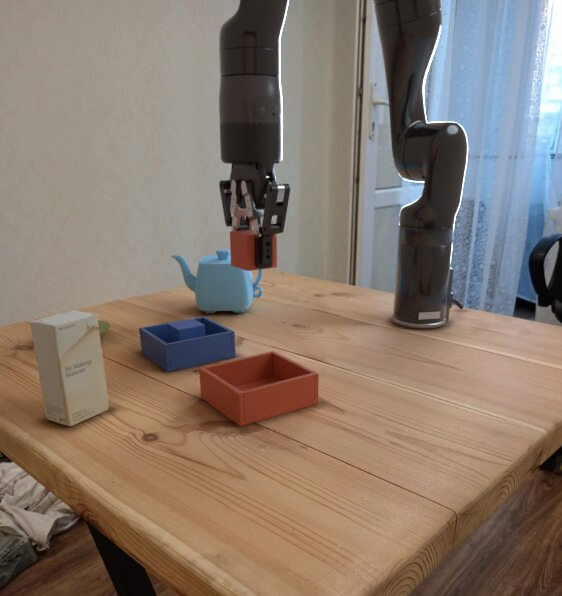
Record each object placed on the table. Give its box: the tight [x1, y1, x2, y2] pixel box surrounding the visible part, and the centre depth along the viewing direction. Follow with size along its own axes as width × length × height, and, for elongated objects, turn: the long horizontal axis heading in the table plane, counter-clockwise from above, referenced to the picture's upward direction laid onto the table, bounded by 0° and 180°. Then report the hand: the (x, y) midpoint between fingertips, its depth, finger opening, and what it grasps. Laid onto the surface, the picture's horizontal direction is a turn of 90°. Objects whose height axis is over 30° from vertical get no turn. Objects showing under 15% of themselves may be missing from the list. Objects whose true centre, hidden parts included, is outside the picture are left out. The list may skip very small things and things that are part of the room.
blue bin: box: [138, 316, 236, 373], centre depth 88 cm, size 11×10×4 cm
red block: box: [229, 228, 278, 272], centre depth 74 cm, size 4×4×4 cm
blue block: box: [166, 318, 206, 343], centre depth 88 cm, size 4×4×4 cm
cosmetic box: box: [29, 309, 110, 427], centre depth 67 cm, size 6×4×12 cm
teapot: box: [169, 248, 264, 314], centre depth 113 cm, size 12×18×12 cm
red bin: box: [198, 350, 320, 427], centre depth 72 cm, size 11×10×4 cm
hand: (253, 263), depth 75 cm, fingers closed on red block, 4 cm apart
